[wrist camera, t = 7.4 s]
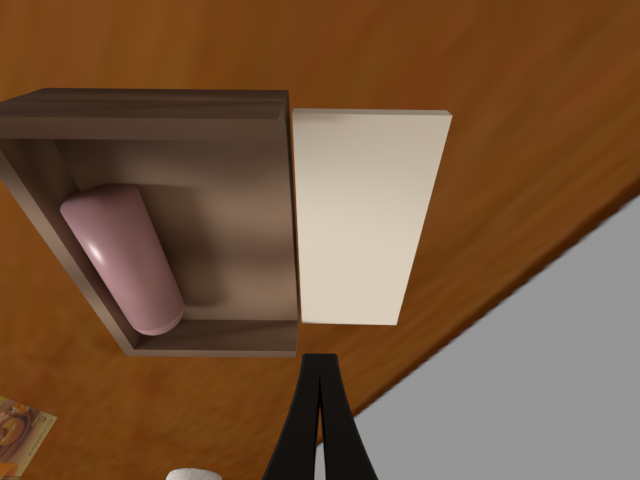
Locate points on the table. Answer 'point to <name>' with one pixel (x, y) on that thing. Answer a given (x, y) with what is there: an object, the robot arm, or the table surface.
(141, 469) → the table surface
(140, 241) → the pink tapered cylinder
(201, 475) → the fruit juice
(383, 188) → the cream flat board
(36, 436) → the candy box
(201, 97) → the brown wooden open box
